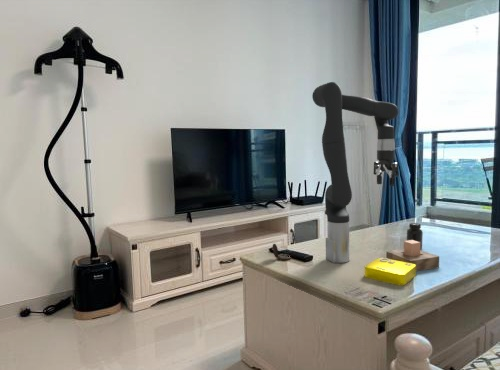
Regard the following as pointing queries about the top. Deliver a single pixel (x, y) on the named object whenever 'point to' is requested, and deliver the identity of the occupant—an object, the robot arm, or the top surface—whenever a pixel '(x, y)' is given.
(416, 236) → the supplement bottle
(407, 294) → the top surface
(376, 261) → the element tile
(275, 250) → the compass
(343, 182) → the robot arm
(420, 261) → the walnut base
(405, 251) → the terracotta peg
